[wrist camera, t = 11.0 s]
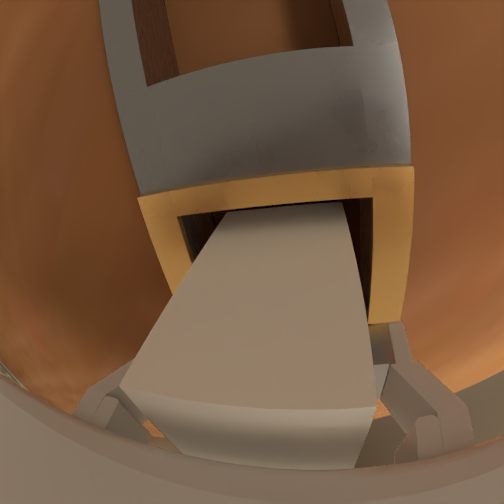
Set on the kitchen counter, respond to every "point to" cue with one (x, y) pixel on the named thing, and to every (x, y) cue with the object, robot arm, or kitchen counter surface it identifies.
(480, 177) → the kitchen counter surface
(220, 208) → the socket rail
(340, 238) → the square peg
